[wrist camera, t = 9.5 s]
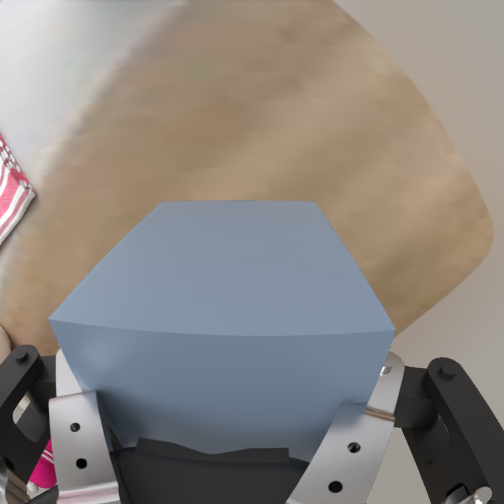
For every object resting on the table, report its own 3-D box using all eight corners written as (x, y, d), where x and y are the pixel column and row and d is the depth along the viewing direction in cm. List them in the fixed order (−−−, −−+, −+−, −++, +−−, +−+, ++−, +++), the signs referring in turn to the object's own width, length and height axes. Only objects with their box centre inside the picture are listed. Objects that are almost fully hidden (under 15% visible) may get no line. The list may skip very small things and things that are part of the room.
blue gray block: (161, 201, 13) (47, 318, 5) (314, 201, 13) (396, 330, 5) (177, 324, 16) (132, 467, 8) (303, 326, 16) (329, 477, 8)
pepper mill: (74, 416, 42) (37, 498, 24) (49, 390, 39) (3, 473, 21) (98, 415, 41) (61, 507, 22) (71, 387, 38) (23, 482, 20)
